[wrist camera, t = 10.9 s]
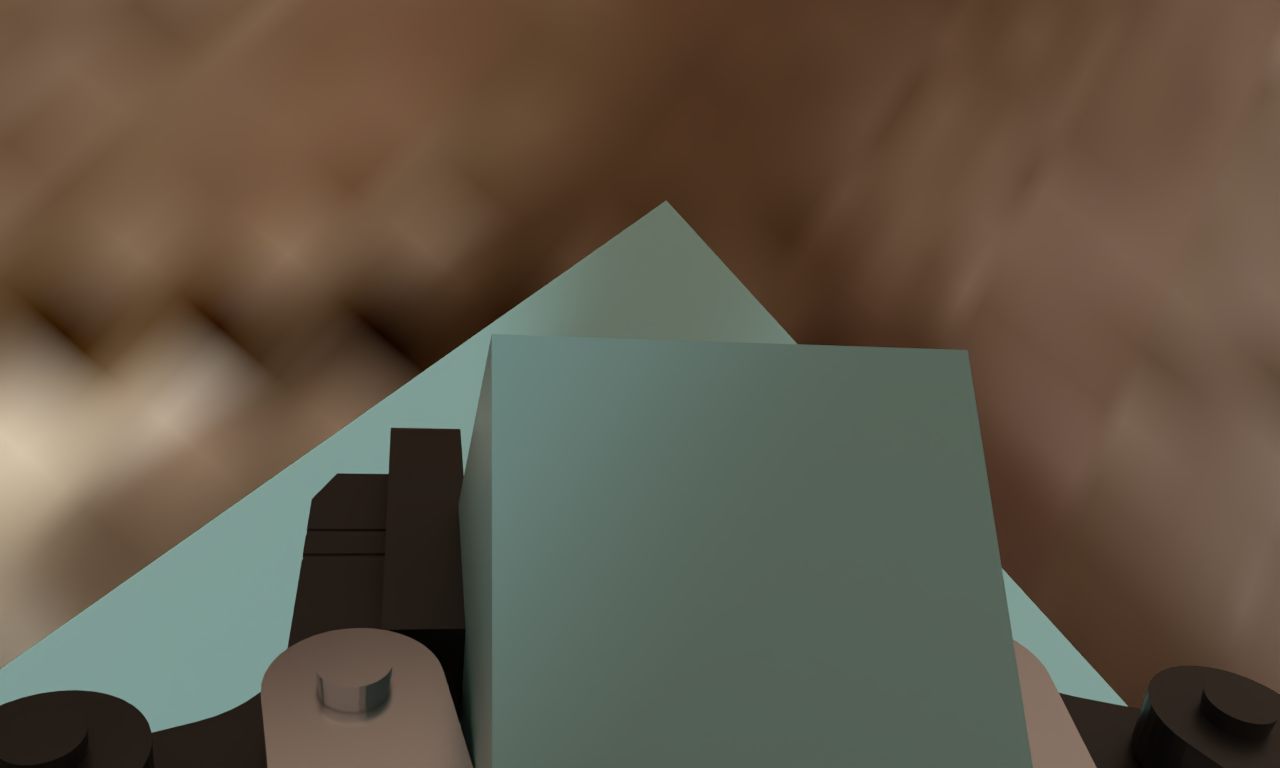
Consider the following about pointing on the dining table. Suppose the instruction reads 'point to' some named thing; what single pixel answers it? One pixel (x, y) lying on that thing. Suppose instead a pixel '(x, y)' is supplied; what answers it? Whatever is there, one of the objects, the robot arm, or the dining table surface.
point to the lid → (647, 544)
